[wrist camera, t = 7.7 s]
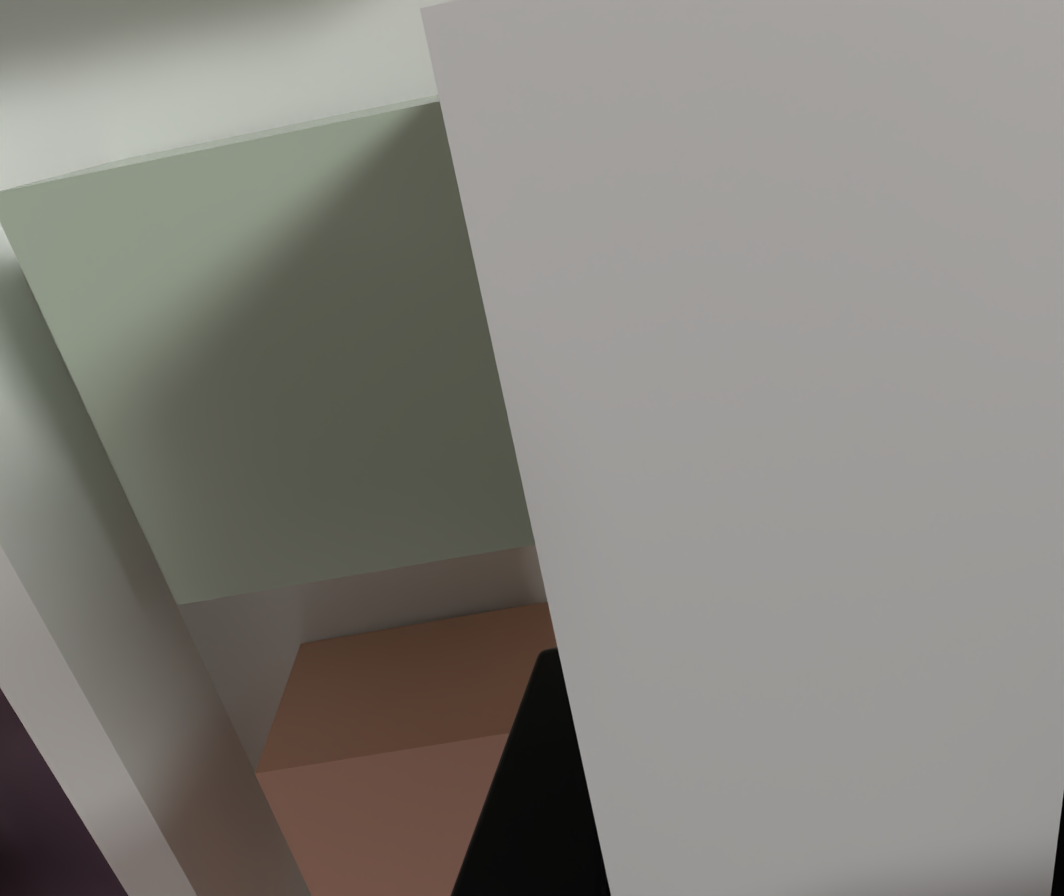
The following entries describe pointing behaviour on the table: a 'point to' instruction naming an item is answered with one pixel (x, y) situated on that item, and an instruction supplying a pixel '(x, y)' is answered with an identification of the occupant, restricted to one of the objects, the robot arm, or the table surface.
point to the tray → (94, 487)
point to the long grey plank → (786, 421)
